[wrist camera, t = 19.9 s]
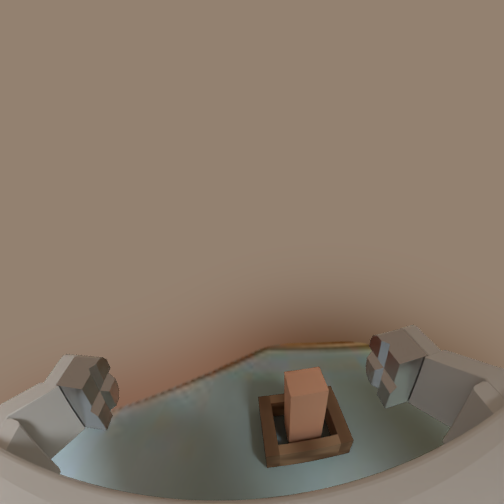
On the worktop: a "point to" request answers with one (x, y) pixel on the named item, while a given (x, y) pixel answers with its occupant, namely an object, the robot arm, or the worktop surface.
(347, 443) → the walnut well
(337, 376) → the worktop surface
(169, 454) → the worktop surface
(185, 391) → the worktop surface
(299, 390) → the salmon orange rectangular block
